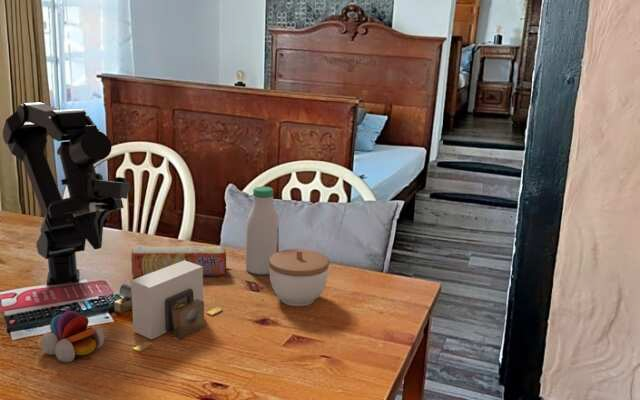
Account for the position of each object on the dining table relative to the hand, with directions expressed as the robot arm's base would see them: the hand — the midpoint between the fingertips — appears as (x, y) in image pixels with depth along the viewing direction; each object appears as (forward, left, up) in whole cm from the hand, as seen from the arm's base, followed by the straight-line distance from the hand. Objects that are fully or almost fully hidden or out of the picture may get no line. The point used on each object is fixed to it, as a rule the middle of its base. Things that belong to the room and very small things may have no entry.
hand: (98, 248), depth 118 cm
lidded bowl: (+7, +39, -13) cm, 42 cm away
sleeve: (+11, +12, -12) cm, 21 cm away
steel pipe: (+8, +10, -12) cm, 18 cm away
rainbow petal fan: (+16, -5, -13) cm, 21 cm away
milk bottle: (-11, +36, -13) cm, 40 cm away
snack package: (-14, +17, -13) cm, 26 cm away
